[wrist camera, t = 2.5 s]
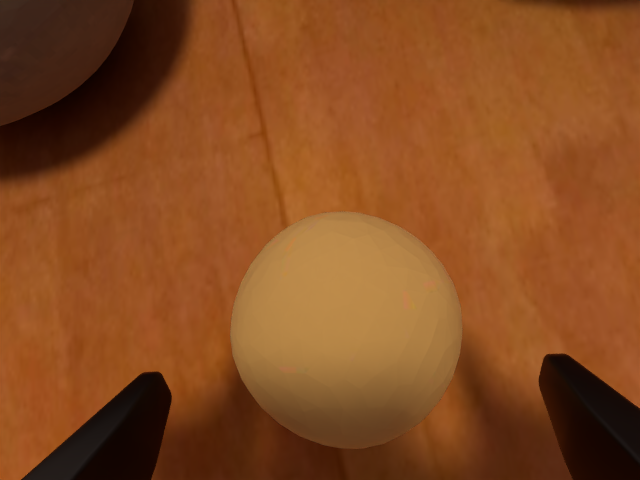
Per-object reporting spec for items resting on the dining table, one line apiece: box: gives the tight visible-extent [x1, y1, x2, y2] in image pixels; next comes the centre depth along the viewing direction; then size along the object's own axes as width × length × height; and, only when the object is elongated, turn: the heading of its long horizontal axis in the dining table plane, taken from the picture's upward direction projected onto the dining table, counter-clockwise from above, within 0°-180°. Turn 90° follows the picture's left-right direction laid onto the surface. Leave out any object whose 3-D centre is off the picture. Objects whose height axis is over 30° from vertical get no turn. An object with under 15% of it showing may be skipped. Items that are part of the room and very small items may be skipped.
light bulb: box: [230, 211, 463, 449], centre depth 13 cm, size 6×6×10 cm
